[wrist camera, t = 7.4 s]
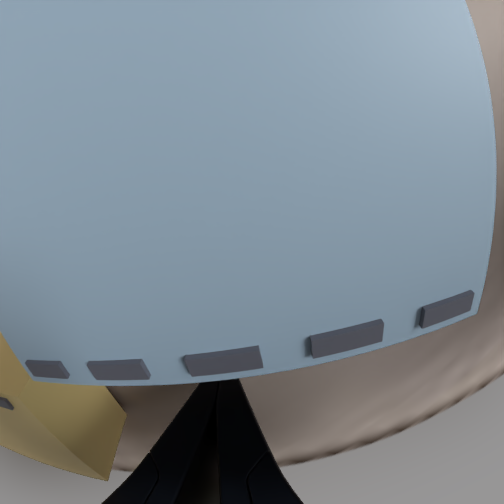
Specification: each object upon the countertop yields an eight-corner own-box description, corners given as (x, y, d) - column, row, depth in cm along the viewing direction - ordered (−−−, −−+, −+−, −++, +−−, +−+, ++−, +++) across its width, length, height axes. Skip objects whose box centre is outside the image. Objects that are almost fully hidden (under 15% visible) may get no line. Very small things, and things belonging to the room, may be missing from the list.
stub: (66, 324, 8) (16, 400, 5) (126, 414, 10) (107, 483, 7) (-37, 330, 8) (-71, 371, 5) (11, 398, 10) (-13, 440, 7)
